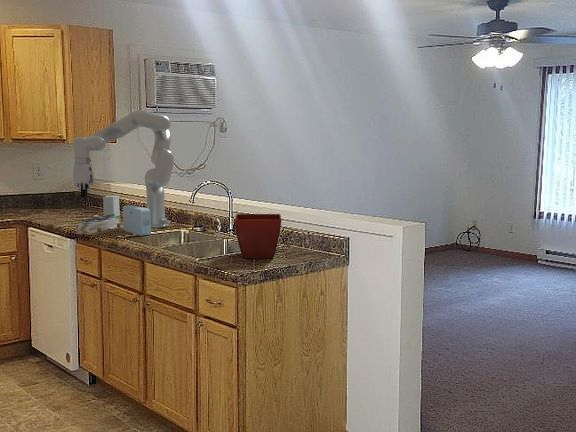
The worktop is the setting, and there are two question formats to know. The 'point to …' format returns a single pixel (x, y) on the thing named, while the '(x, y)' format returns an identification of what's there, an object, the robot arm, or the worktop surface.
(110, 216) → the block
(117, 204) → the skincare box
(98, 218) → the rocker
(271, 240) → the plant pot
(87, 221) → the block
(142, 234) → the light blue rectangular block
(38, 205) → the worktop surface
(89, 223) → the switch unit
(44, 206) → the worktop surface
